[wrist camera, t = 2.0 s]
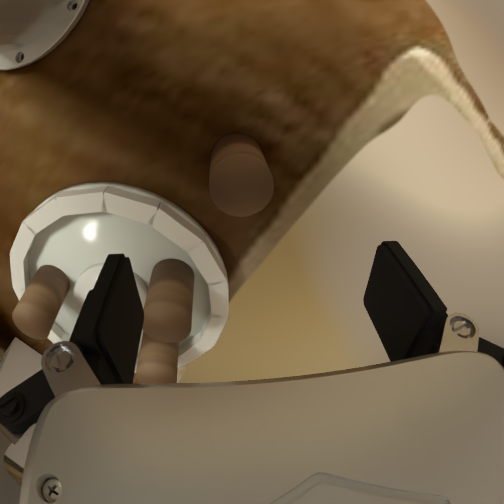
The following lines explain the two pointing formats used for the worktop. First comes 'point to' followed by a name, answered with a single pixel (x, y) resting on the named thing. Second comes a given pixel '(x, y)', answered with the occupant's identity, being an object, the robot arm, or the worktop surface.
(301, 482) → the robot arm
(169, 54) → the worktop surface
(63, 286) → the brown cylinder
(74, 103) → the worktop surface
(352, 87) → the worktop surface
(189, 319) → the brown round peg
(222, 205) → the tan rounded cylinder
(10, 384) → the milk
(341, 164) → the worktop surface
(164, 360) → the brown round peg
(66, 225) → the groove tray
